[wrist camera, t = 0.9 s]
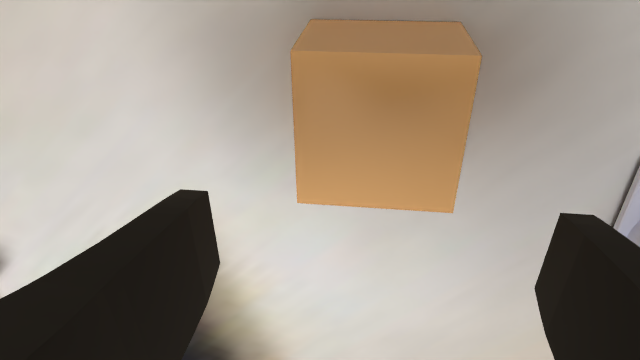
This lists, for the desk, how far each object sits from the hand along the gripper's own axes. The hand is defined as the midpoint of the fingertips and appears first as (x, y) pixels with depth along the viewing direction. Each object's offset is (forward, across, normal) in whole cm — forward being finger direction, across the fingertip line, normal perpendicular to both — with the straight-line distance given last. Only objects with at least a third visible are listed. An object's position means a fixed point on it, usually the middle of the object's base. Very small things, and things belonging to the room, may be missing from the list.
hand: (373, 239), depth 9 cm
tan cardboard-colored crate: (+9, 0, 0) cm, 9 cm away
